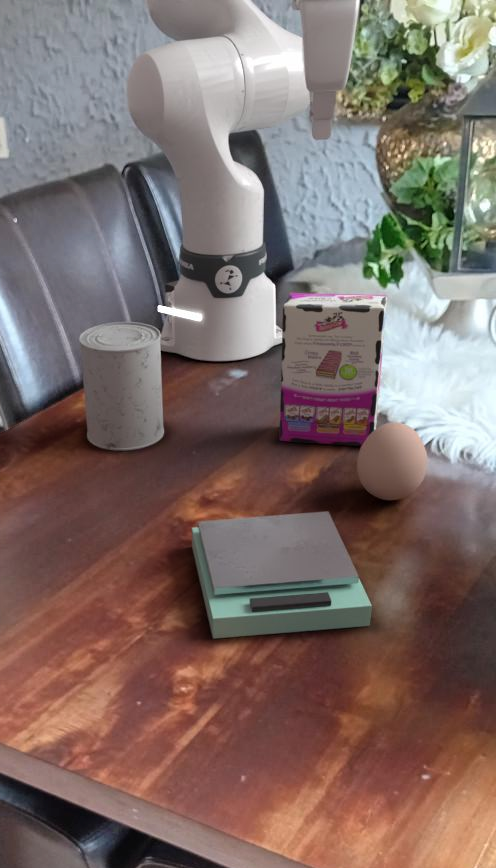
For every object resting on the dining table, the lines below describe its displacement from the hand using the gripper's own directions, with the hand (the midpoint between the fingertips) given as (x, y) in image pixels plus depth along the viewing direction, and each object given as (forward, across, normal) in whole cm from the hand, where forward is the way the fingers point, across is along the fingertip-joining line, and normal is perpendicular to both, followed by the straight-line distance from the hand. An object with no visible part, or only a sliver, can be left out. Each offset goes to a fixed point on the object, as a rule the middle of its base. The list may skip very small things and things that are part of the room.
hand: (319, 129), depth 101 cm
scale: (+34, +33, -4) cm, 47 cm away
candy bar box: (+34, 0, +3) cm, 34 cm away
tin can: (+34, -1, -22) cm, 40 cm away
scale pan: (+31, +32, -4) cm, 44 cm away
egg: (+34, +15, +9) cm, 38 cm away
